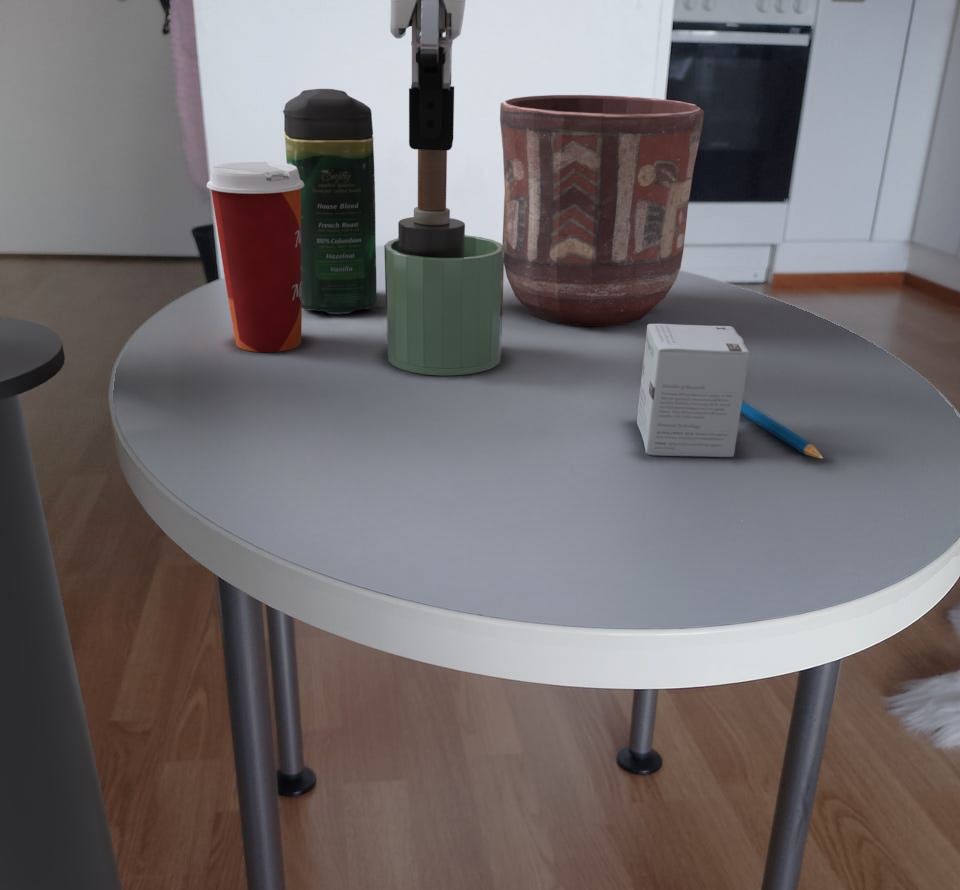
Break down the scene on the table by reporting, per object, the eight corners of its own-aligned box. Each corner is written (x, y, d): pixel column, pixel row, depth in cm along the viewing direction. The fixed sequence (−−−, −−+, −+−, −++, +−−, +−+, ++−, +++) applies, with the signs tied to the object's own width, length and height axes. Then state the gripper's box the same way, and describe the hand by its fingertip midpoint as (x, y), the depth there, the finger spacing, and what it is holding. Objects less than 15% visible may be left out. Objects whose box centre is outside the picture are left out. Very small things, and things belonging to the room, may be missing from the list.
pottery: (509, 338, 96) (517, 113, 87) (483, 289, 111) (487, 93, 101) (703, 335, 98) (731, 115, 89) (652, 288, 113) (671, 95, 104)
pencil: (702, 383, 86) (703, 374, 85) (827, 462, 72) (829, 453, 72) (693, 384, 86) (694, 375, 85) (817, 464, 72) (819, 454, 72)
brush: (414, 285, 84) (415, 66, 76) (388, 270, 88) (386, 60, 80) (474, 279, 86) (481, 66, 78) (446, 265, 90) (449, 61, 82)
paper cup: (331, 344, 93) (322, 169, 86) (255, 361, 89) (239, 178, 82) (279, 325, 98) (267, 157, 91) (205, 340, 94) (185, 165, 86)
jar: (415, 381, 85) (414, 263, 81) (370, 349, 92) (366, 239, 88) (520, 367, 89) (525, 253, 84) (469, 337, 96) (470, 230, 92)
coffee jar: (383, 315, 102) (378, 94, 92) (298, 318, 100) (283, 94, 91) (371, 290, 110) (364, 84, 100) (292, 292, 108) (278, 84, 99)
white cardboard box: (635, 425, 78) (645, 321, 74) (719, 426, 78) (734, 323, 74) (645, 457, 73) (657, 347, 69) (736, 458, 73) (752, 349, 69)
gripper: (386, -145, 79) (389, 132, 89) (367, -171, 66) (372, 160, 75) (489, -141, 79) (480, 135, 89) (491, -166, 66) (481, 163, 75)
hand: (431, 144), depth 82 cm, fingers closed on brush
